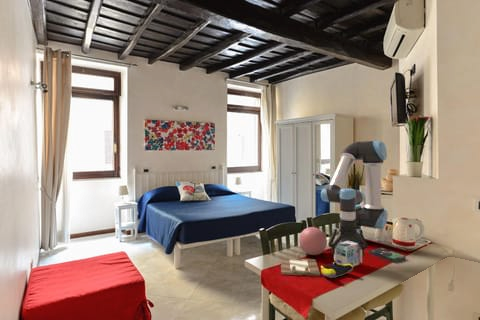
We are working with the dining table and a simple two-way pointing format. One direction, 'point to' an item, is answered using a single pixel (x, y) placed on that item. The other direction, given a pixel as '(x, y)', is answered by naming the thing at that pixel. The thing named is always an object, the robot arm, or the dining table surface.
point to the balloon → (312, 241)
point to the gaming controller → (336, 270)
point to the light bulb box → (347, 253)
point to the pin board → (299, 266)
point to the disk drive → (387, 255)
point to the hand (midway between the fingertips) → (347, 260)
